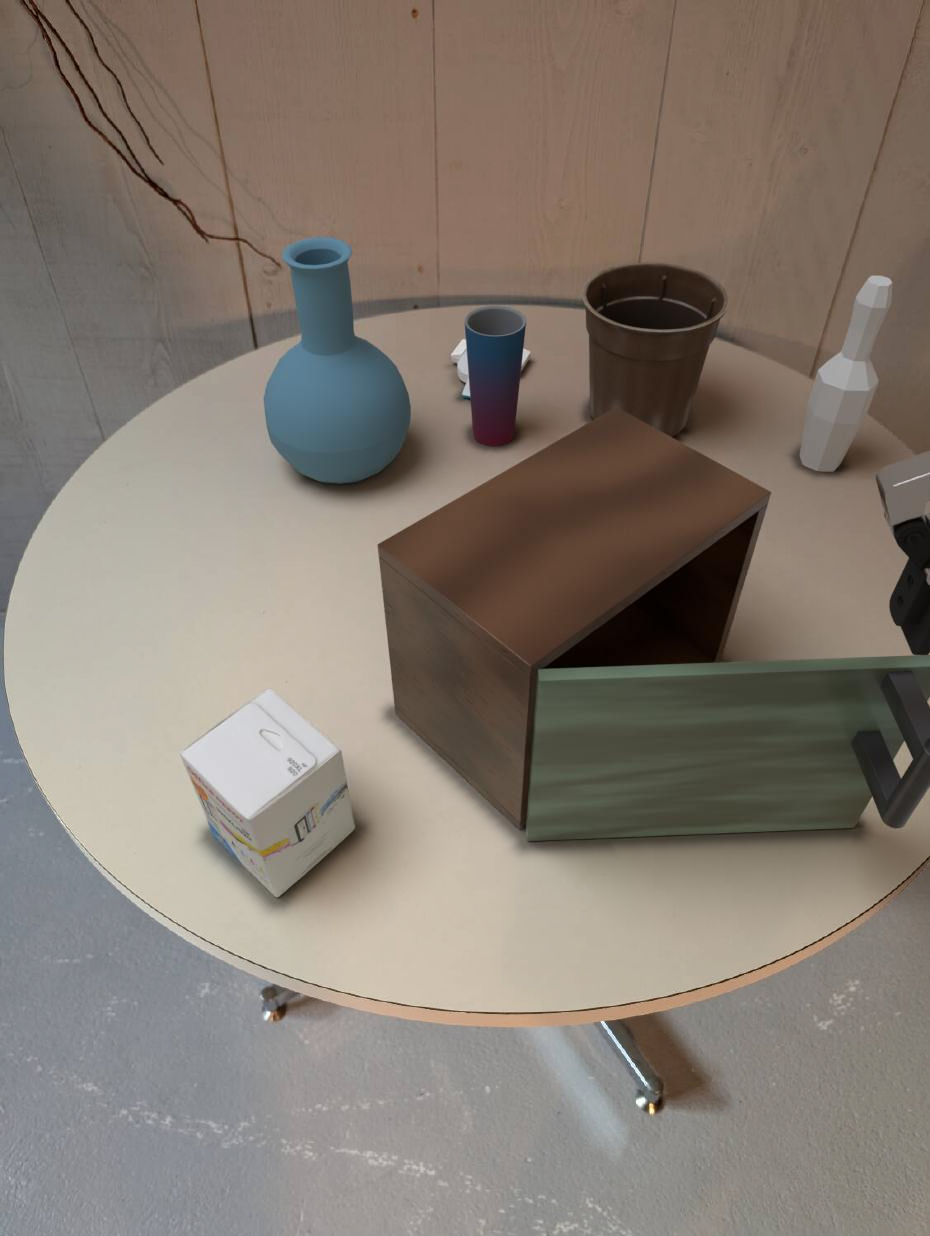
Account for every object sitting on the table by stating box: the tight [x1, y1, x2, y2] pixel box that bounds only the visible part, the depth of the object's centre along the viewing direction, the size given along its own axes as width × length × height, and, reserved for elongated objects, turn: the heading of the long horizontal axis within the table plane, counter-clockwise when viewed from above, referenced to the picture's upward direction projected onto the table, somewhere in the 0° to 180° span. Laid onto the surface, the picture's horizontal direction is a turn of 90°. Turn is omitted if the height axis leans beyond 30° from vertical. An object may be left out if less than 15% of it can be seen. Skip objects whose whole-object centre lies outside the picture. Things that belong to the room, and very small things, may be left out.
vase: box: [263, 236, 412, 485], centre depth 99 cm, size 16×16×25 cm
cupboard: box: [377, 407, 772, 831], centre depth 76 cm, size 16×26×20 cm, turn 132°
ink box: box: [179, 688, 356, 898], centre depth 69 cm, size 9×8×12 cm
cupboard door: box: [525, 654, 930, 842], centre depth 63 cm, size 8×26×20 cm, turn 92°
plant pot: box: [581, 261, 730, 438], centre depth 107 cm, size 16×16×16 cm
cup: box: [464, 305, 527, 447], centre depth 105 cm, size 7×7×15 cm
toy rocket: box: [450, 338, 531, 399], centre depth 120 cm, size 16×10×2 cm, turn 159°
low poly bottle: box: [799, 275, 893, 473], centre depth 99 cm, size 6×6×22 cm
